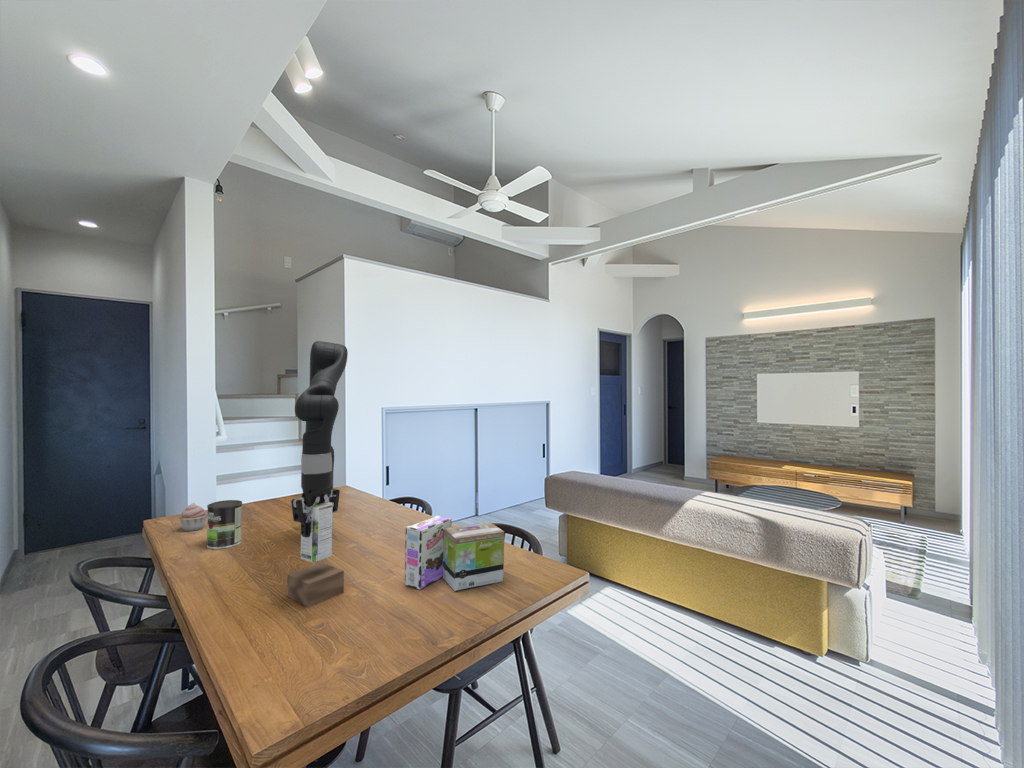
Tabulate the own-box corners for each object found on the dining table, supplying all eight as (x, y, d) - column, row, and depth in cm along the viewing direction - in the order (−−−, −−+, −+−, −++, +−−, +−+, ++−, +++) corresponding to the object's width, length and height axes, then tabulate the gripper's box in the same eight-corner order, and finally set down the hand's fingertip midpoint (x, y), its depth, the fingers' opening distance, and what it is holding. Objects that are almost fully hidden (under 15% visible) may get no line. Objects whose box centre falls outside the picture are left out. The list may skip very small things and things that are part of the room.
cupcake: (212, 527, 174) (212, 502, 174) (184, 534, 166) (185, 507, 166) (201, 523, 179) (201, 498, 179) (173, 530, 171) (173, 503, 171)
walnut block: (287, 597, 118) (287, 574, 119) (322, 583, 127) (322, 562, 127) (308, 608, 113) (308, 584, 113) (343, 593, 121) (343, 570, 121)
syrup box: (299, 559, 119) (299, 504, 119) (318, 551, 124) (318, 499, 124) (314, 563, 116) (314, 507, 116) (333, 555, 121) (333, 501, 121)
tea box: (454, 593, 121) (455, 538, 121) (442, 578, 130) (442, 527, 130) (504, 582, 128) (504, 529, 128) (489, 569, 137) (489, 520, 137)
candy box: (419, 590, 122) (420, 530, 122) (404, 585, 125) (404, 526, 125) (452, 572, 134) (452, 517, 134) (436, 568, 137) (437, 514, 137)
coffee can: (220, 551, 150) (220, 508, 150) (199, 546, 154) (200, 505, 154) (248, 541, 160) (249, 501, 160) (228, 537, 163) (229, 498, 163)
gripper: (328, 464, 128) (327, 523, 128) (283, 473, 115) (282, 539, 115) (347, 466, 125) (347, 527, 125) (303, 476, 112) (303, 543, 112)
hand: (316, 532), depth 120 cm, fingers closed on syrup box, 6 cm apart
